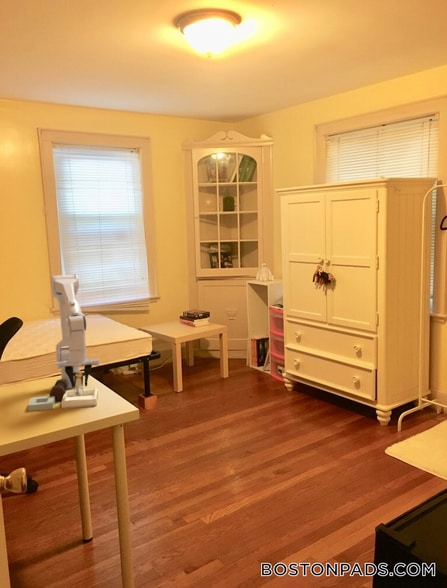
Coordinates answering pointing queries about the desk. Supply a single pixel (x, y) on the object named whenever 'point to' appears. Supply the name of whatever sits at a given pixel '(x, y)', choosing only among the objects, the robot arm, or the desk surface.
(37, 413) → the desk surface
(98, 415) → the desk surface
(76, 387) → the pin
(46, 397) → the grey square socket block
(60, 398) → the dark brown faceted bar
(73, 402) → the tray
